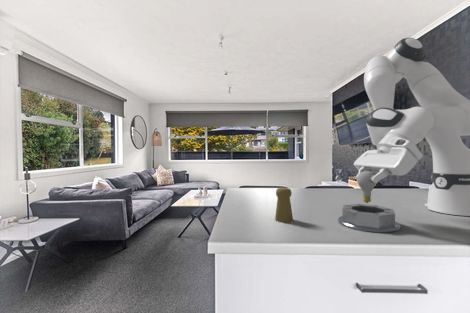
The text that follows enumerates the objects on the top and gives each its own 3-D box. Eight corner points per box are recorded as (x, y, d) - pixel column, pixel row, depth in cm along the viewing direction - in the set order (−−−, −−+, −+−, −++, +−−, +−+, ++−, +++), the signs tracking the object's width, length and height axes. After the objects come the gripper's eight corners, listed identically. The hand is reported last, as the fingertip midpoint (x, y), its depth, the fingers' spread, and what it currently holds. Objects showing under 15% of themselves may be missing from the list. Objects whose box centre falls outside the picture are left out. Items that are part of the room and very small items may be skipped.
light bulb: (380, 204, 71) (379, 171, 70) (360, 204, 72) (360, 172, 71) (373, 200, 76) (372, 170, 76) (355, 200, 77) (354, 170, 77)
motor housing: (367, 214, 84) (367, 201, 84) (414, 229, 68) (414, 213, 68) (327, 218, 80) (327, 205, 80) (367, 235, 63) (367, 218, 63)
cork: (293, 222, 76) (293, 189, 76) (275, 222, 77) (274, 189, 76) (292, 217, 82) (291, 186, 81) (274, 217, 83) (274, 186, 82)
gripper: (364, 143, 85) (339, 171, 84) (414, 140, 64) (381, 176, 63) (376, 155, 85) (351, 183, 84) (428, 156, 65) (397, 192, 64)
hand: (364, 180), depth 74 cm, fingers closed on light bulb, 5 cm apart
